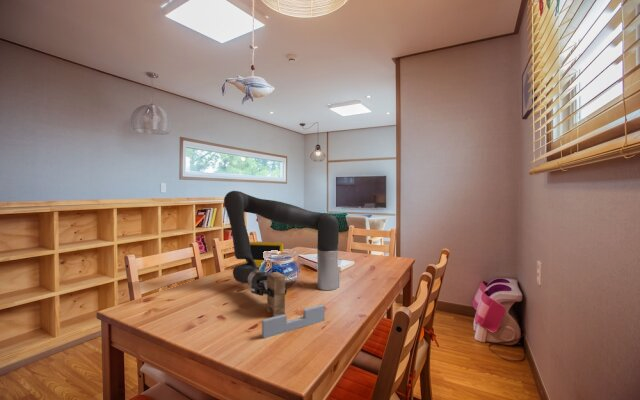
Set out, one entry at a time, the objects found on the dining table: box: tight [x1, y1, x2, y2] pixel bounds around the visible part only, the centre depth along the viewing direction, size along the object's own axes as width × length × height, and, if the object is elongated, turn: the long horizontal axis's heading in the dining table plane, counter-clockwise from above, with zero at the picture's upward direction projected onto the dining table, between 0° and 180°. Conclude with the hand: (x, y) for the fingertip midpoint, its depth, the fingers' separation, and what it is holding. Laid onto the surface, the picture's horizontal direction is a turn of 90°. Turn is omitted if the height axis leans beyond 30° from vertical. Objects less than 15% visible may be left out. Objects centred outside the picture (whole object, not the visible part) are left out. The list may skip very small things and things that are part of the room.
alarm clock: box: [244, 241, 284, 270], centre depth 165 cm, size 20×8×16 cm, turn 80°
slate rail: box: [261, 304, 326, 339], centre depth 97 cm, size 22×2×5 cm, turn 124°
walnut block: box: [266, 271, 286, 317], centre depth 108 cm, size 4×6×14 cm, turn 34°
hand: (279, 293), depth 106 cm, fingers closed on walnut block, 4 cm apart
